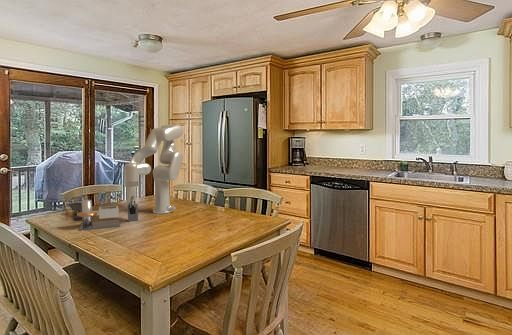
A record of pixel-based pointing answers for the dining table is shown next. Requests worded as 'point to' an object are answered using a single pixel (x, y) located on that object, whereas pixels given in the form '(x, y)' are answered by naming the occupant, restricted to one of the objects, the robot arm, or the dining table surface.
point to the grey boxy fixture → (103, 212)
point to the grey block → (132, 216)
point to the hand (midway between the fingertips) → (132, 212)
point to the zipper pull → (76, 208)
